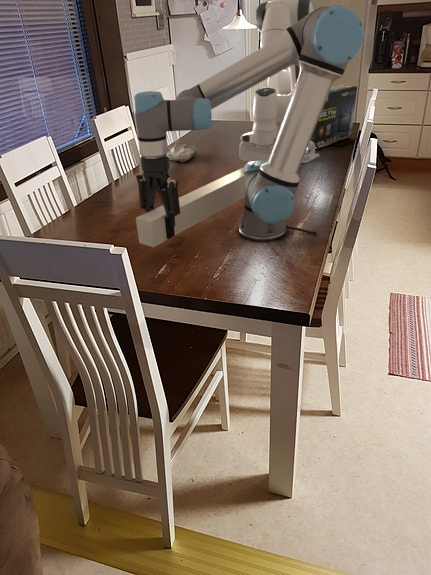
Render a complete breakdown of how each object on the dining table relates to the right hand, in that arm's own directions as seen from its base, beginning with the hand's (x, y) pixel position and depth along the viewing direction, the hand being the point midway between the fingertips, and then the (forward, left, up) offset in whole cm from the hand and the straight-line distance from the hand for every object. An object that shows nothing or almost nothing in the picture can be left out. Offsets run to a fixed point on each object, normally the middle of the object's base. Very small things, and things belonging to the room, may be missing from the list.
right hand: (264, 174), depth 172 cm
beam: (+28, +6, -3) cm, 29 cm away
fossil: (-13, -70, -9) cm, 72 cm away
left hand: (+57, +12, -2) cm, 58 cm away
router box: (-83, -32, -9) cm, 90 cm away
